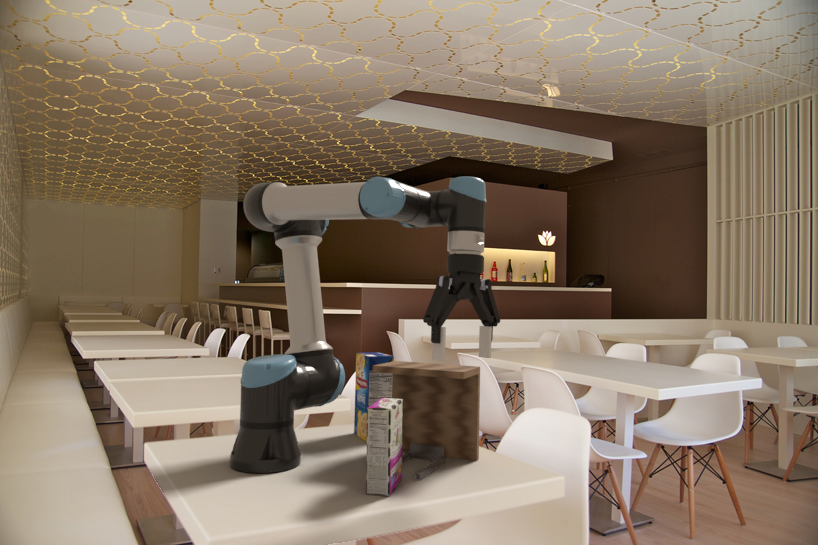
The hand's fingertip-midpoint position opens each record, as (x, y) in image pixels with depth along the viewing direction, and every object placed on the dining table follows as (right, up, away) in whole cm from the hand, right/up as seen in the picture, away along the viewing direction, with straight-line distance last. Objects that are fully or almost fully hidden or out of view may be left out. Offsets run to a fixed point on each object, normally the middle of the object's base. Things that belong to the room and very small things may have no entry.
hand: (462, 359), depth 115 cm
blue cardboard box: (-21, -27, +38) cm, 51 cm away
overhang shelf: (-9, -26, +13) cm, 30 cm away
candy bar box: (-16, -25, -3) cm, 30 cm away
